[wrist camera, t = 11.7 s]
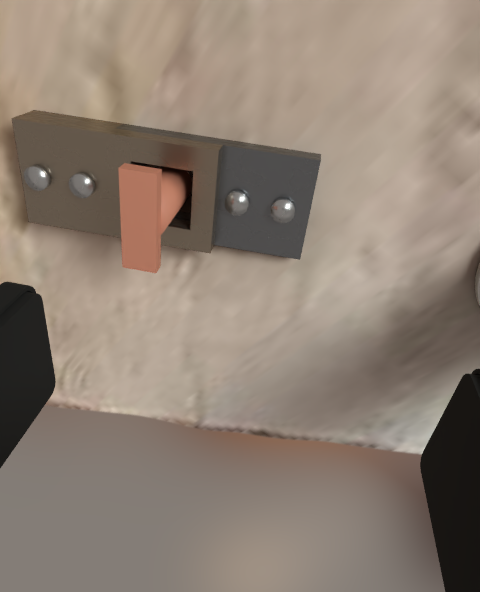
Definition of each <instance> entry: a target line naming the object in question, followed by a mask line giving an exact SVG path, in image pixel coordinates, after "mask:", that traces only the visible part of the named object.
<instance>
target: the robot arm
mask: <svg viewBox="0 0 480 592" xmlns="http://www.w3.org/2000/svg"><path fill="white" fill-rule="evenodd" d="M475 293H476V298H477V302H478V304H479V306H480V263H479V266H478V269H477V273H476V276H475ZM54 388H55V374H54V368H53V362H52V356H51V350H50V343H49V337H48V331H47V325H46V319H45V313H44V307H43V301H42V297H41V296H40V295H39V294H36V291H35V289H34V288H33V287H31V286H28V285H23V284H17V283H12V282H4V283H2V284H0V468H1V466H2V465H3V464H4V462H5V461H6V459H7V458H8V457H9V455H10V454H11V452H12V451H13V449H14V448H15V447H16V445H17V444H18V442H19V441H20V439H21V438H22V437H23V435H24V434H25V432H26V431H27V429H28V428H29V427H30V425H31V424H32V422H33V421H34V419H35V418H36V417H37V415H38V414H39V412H40V411H41V409H42V408H43V407H44V405H45V404H46V402H47V401H48V399H49V398H50V397H51V395H52V393H53V391H54ZM420 467H421V474H422V478H423V483H424V489H425V493H426V498H427V503H428V508H429V513H430V518H431V523H432V528H433V533H434V537H435V542H436V547H437V552H438V557H439V562H440V567H441V572H442V577H443V581H444V587H445V592H480V369H476V370H474V371H473V372H472V374H465V375H464V376H463V377H462V379H461V381H460V382H459V384H458V386H457V388H456V390H455V392H454V394H453V396H452V398H451V400H450V402H449V403H448V405H447V407H446V409H445V411H444V413H443V415H442V417H441V419H440V421H439V423H438V424H437V426H436V428H435V430H434V432H433V434H432V436H431V438H430V440H429V442H428V444H427V446H426V447H425V449H424V451H423V453H422V457H421V463H420Z"/></svg>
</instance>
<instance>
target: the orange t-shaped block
mask: <svg viewBox="0 0 480 592" xmlns="http://www.w3.org/2000/svg"><path fill="white" fill-rule="evenodd" d="M118 170H119V194H120V217H121V241H122V265H123V267H125V268H130V269H136V270H142V271H147V272H153V273H156V272H157V271H158V269H159V268H160V266H161V234H162V233H163V232H164V231H165V229H166V228H167V227H168V225H169V224H170V222H171V221H172V219H173V218H174V217H175V215H176V214H177V212H178V211H179V210H180V208H181V207H182V205H183V204H184V203H185V201H186V200H187V198H188V197H189V195H190V194H191V192H192V187H193V185H192V179H191V177H190V175H189V173H188V172H187V171H186V170H182V169H176V168H170V167H164V166H160V167H159V168H151V167H145V166H139V165H133V164H127V163H124V164H123V165H122V166H120V167H119V168H118Z"/></svg>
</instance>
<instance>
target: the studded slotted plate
mask: <svg viewBox="0 0 480 592" xmlns="http://www.w3.org/2000/svg"><path fill="white" fill-rule="evenodd" d="M12 123H13V129H14V135H15V141H16V147H17V153H18V159H19V165H20V172H21V178H22V184H23V190H24V196H25V202H26V208H27V214H28V220H29V222H33V223H38V224H44V225H50V226H56V227H61V228H67V229H73V230H79V231H84V232H90V233H96V234H102V235H107V236H113V237H119V238H121V217H120V194H119V170H118V168H119V167H120V166H122V165H123V164H124V163H127V164H133V165H139V166H145V164H151V165H158V166H164V167H170V168H176V169H182V170H189V171H193V187H192V206H191V213H185V212H179V211H178V212H177V214H176V215H175V217H174V218H173V219H172V221H171V222H170V224H169V225H168V227H167V228H166V229H165V231H164V232H163V233H162V234H161V245H165V246H171V247H177V248H182V249H188V250H194V251H200V252H205V253H211V251H212V249H213V247H214V245H218V246H224V247H230V248H235V249H241V250H247V251H253V252H259V253H264V254H270V255H276V256H282V257H288V258H294V259H299V260H300V257H301V252H302V247H303V243H304V238H305V233H306V228H307V223H308V218H309V214H310V209H311V204H312V199H313V194H314V190H315V185H316V180H317V175H318V170H319V166H320V161H321V154H315V153H308V152H302V151H295V150H289V149H282V148H276V147H270V146H263V145H257V144H250V143H244V142H237V141H231V140H224V139H218V138H211V137H205V136H198V135H192V134H185V133H179V132H172V131H166V130H159V129H153V128H147V127H140V126H134V125H127V124H121V123H114V122H108V121H101V120H95V119H88V118H82V117H75V116H69V115H62V114H56V113H49V112H43V111H36V110H33V111H31V112H28V113H25V114H23V115H20V116H17V117H14V118H12Z"/></svg>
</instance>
